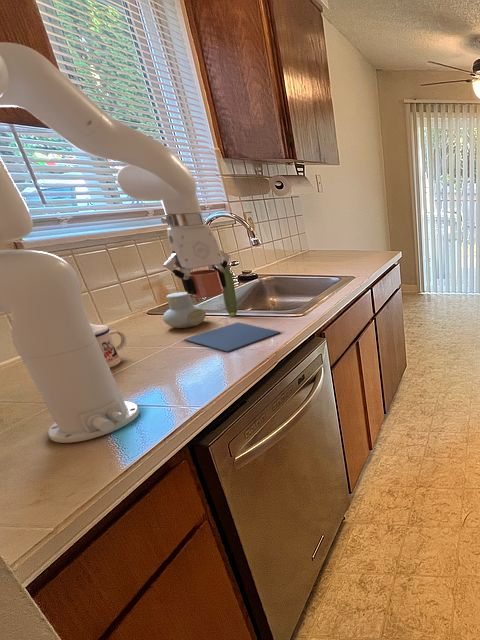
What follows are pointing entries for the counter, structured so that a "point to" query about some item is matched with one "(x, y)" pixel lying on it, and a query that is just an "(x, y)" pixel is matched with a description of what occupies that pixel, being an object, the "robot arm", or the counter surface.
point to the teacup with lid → (108, 343)
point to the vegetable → (229, 294)
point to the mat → (232, 337)
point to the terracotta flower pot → (206, 283)
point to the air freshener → (182, 311)
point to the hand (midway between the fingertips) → (207, 289)
